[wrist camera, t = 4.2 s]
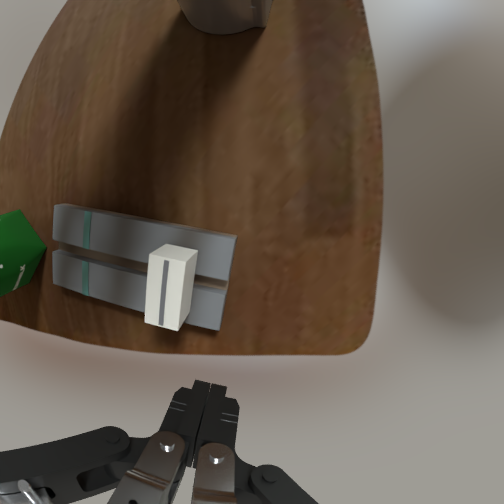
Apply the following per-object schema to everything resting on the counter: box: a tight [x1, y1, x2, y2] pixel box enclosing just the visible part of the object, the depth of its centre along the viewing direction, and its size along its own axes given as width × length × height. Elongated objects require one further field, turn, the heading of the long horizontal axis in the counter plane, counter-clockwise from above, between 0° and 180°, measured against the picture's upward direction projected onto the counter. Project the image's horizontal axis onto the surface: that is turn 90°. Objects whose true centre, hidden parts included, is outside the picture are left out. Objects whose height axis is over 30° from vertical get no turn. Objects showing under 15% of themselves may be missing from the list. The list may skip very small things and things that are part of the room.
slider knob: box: [145, 244, 198, 331], centre depth 24 cm, size 3×6×5 cm, turn 169°
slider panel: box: [53, 203, 238, 331], centre depth 27 cm, size 20×9×2 cm, turn 79°
